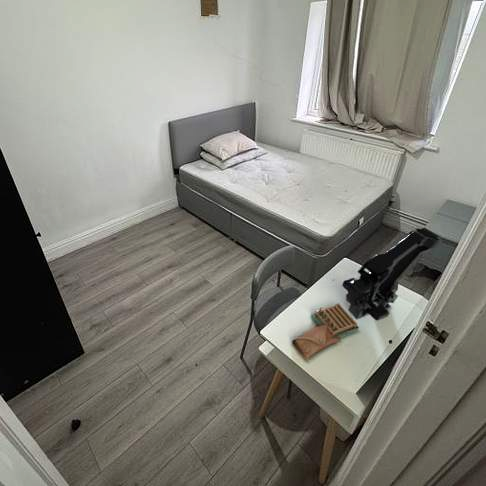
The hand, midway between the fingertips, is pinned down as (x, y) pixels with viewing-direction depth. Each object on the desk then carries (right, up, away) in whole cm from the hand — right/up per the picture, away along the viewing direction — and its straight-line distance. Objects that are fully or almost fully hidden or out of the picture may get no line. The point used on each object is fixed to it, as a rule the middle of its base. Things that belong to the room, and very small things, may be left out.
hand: (358, 310), depth 119 cm
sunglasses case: (-21, -9, -8) cm, 24 cm away
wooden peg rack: (-11, -5, -2) cm, 12 cm away
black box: (0, -1, +1) cm, 1 cm away
